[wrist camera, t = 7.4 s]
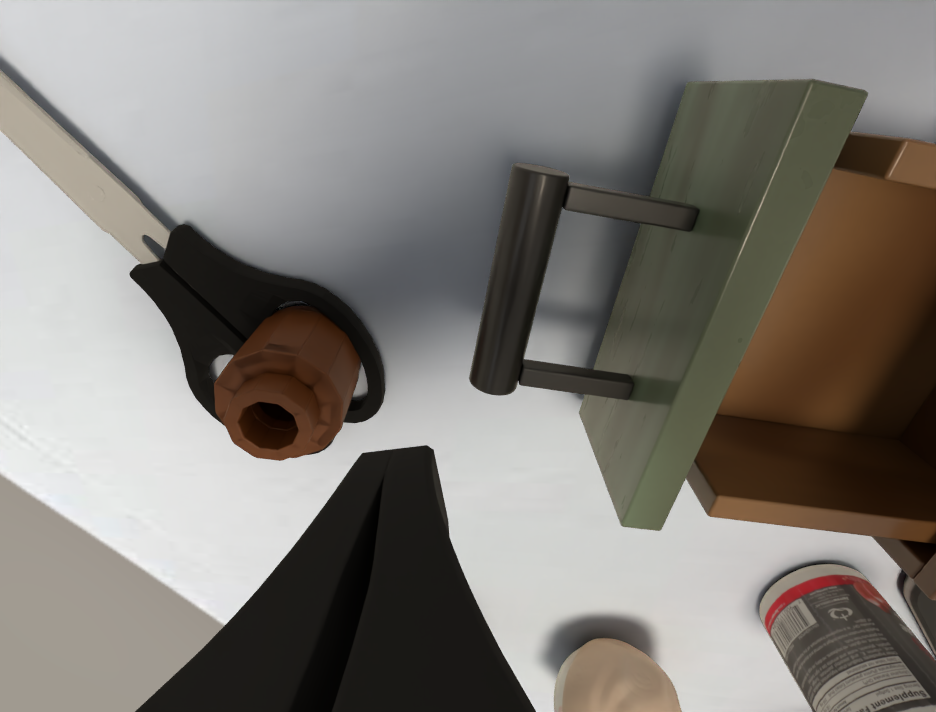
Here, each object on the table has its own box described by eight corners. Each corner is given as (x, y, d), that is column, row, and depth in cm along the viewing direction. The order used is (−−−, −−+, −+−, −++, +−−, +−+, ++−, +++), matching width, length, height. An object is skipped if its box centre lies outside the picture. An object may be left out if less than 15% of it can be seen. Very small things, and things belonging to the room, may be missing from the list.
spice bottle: (254, 297, 18) (194, 359, 14) (365, 314, 18) (339, 379, 14) (255, 390, 19) (203, 470, 15) (357, 404, 20) (331, 485, 16)
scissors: (-272, 0, 14) (293, 464, 21) (-315, -5, 13) (287, 479, 20) (-151, -217, 12) (418, 376, 19) (-193, -238, 11) (417, 389, 19)
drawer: (454, 395, 19) (454, 508, 14) (521, 47, 14) (558, 24, 9) (876, 453, 21) (1013, 573, 16) (1074, 161, 16) (1372, 197, 10)
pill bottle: (881, 600, 26) (1092, 856, 17) (781, 644, 28) (930, 898, 19) (843, 542, 24) (1060, 798, 15) (737, 592, 26) (881, 851, 17)
